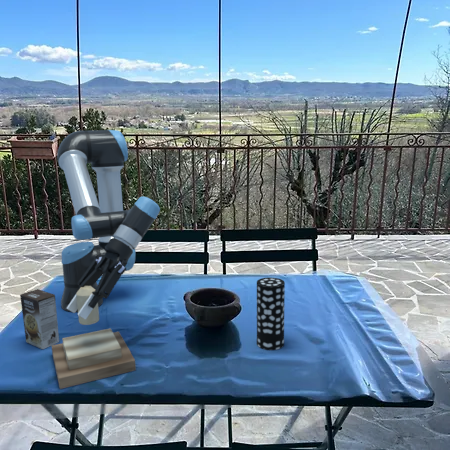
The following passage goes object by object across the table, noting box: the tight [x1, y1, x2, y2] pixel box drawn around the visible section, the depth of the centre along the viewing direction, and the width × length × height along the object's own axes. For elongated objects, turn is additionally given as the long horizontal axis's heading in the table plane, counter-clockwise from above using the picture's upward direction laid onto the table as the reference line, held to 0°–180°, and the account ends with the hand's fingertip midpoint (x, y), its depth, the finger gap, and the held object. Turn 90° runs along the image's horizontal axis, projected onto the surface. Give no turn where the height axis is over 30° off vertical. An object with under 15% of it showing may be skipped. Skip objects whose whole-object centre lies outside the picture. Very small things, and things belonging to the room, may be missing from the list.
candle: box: [76, 286, 100, 326], centre depth 126 cm, size 6×6×10 cm
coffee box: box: [19, 288, 60, 350], centre depth 141 cm, size 9×6×16 cm
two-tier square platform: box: [51, 328, 137, 390], centre depth 129 cm, size 20×20×6 cm
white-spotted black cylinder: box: [256, 276, 286, 351], centre depth 136 cm, size 8×8×20 cm
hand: (76, 313), depth 123 cm, fingers closed on candle, 5 cm apart
